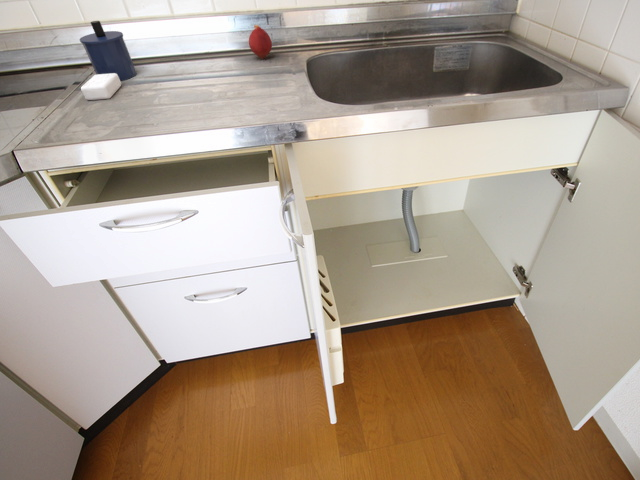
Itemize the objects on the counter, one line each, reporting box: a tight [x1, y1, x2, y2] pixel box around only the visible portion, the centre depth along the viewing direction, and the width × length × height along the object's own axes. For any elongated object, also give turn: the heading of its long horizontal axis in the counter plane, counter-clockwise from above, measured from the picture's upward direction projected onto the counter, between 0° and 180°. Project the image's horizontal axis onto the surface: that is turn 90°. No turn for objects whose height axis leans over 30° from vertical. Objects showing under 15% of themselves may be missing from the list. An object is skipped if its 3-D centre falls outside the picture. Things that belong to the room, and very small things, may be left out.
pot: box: [81, 36, 137, 82], centre depth 96 cm, size 9×9×8 cm
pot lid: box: [79, 20, 124, 45], centre depth 92 cm, size 9×9×4 cm
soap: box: [80, 73, 122, 101], centre depth 89 cm, size 9×6×3 cm, turn 6°
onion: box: [248, 24, 273, 60], centre depth 102 cm, size 6×6×8 cm
